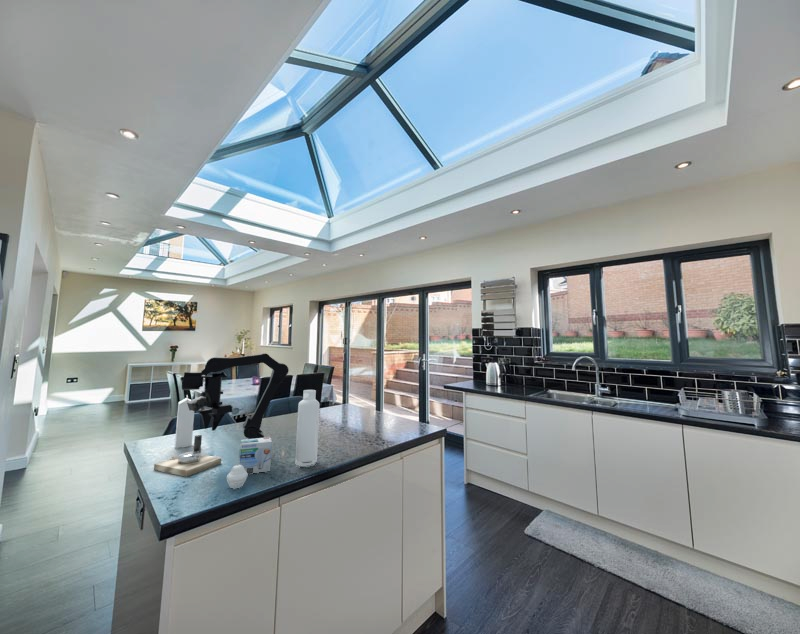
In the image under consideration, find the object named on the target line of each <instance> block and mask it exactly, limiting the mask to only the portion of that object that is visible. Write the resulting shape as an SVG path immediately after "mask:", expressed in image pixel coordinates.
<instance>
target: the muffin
mask: <svg viewBox="0 0 800 634" xmlns="http://www.w3.org/2000/svg"><path fill="white" fill-rule="evenodd" d="M247 478H248V473H247V472H246V471H245V469H244V467H243V466H242V465H239V464H236V465H234V466H232V467H231V470H230V471H229V472H228V473H227V475H226V478H225V479H226V480H227V484H228V486H229V488H230V489H231V488H238V487H241V486H242V487H243V486H244V484H245V482H246V480H247ZM242 487H241V488H242Z"/></svg>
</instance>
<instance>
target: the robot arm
mask: <svg viewBox="0 0 800 634" xmlns="http://www.w3.org/2000/svg"><path fill="white" fill-rule="evenodd" d="M257 364H264V365H265V366H268V367H269V368H270V369H271V374H270V378H269V382H268V384H267V385H266V389H265V390H264V392H263V394H262V396H261V398H260V400H259V402H258V404H257V406H256V408H255V409H254V411H253V414H251V416H250V415H247V416H246V418H245V421H244V422H243V423H242V430H243V431H242V432H243V435H244V437H245V438H246V439H255V438H265V436H264V432H263V431H262V430H261V427H262V422H263V419H264V415H265V413H266V412H267V409H268V407H269V405H270V403H271V401H272V399H273V397H274V395H275V393H276V392H277V389H278V387H279V385H280V384H281V383H282V382H283V381H284V379H285V378H286V377H287V375H288V374H289V367H288V365H286V364H285V363H282V362H278V360H276V359H274V358H273V357H272V356H270V355H269V354H268V353H266V352H265V353H263V352H262V353H260V354H252V355H245V356H237V357H223V356H214V357H211V358H209V359H208V360H207V361H206V364H205V367H204V369H202V370H201V372H198V371H197V372H192V371H191V372H190V371H185V372H183V373H184V374H183V378H182V381H181V390H182V391H192V390H193V391H194V390H195V391H197V390H200V389H201V388H203V387H204V391H201V393H200V396H198V397H195V398H192V399H190V400H191V401H189V402H187V404H188V408H189V410H192V411H194V412H196V413H197V414H198V415H200V418H201V422H202V425H203V428H204V429H205V430H206V429H208V428H209V426H210V422H211V430H212V431H216V429H217V428H218V426H219V424H220V423H221V421H222V420H223V418H224V417H225V415H226V414H228V413H232V412H233V409H234V407H233V405H232V404H227V403H224V404H223V401H221V395H224V391H222V380H223V379H222V378H228V375H227V374H226V373H225V370H228V369H230V368H234V367H242V366H249V365H257ZM219 372H220V373H219ZM210 373H212V374H211V375H209V374H210ZM204 379H205V381H204Z"/></svg>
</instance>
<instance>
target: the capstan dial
mask: <svg viewBox="0 0 800 634" xmlns="http://www.w3.org/2000/svg"><path fill="white" fill-rule="evenodd" d="M202 436H203V435H202V434H197V435H194V443H193V450H192V451H189V452H188V451H187V452H183V453H181V454H179V455H178V456H177V457H178V463H180V464H187V463H193V462H196V461H198V460H200V454H202V440H203V439H202V438H203V437H202Z"/></svg>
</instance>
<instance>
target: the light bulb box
mask: <svg viewBox="0 0 800 634" xmlns="http://www.w3.org/2000/svg"><path fill="white" fill-rule="evenodd" d="M272 449H273V440H272V438H271V436H267V437H264V438H255V439H248V438H246V439H240V444H239V454H238V455H239V456H238V465H242V466H243V467H244V469H245V471H246V472H247V473H248V474H249V475H254V474H253V473H257V474H260V473H259V472H265V473H267V472H266V471H270V472H271V463H272V462H271V461H272Z"/></svg>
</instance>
